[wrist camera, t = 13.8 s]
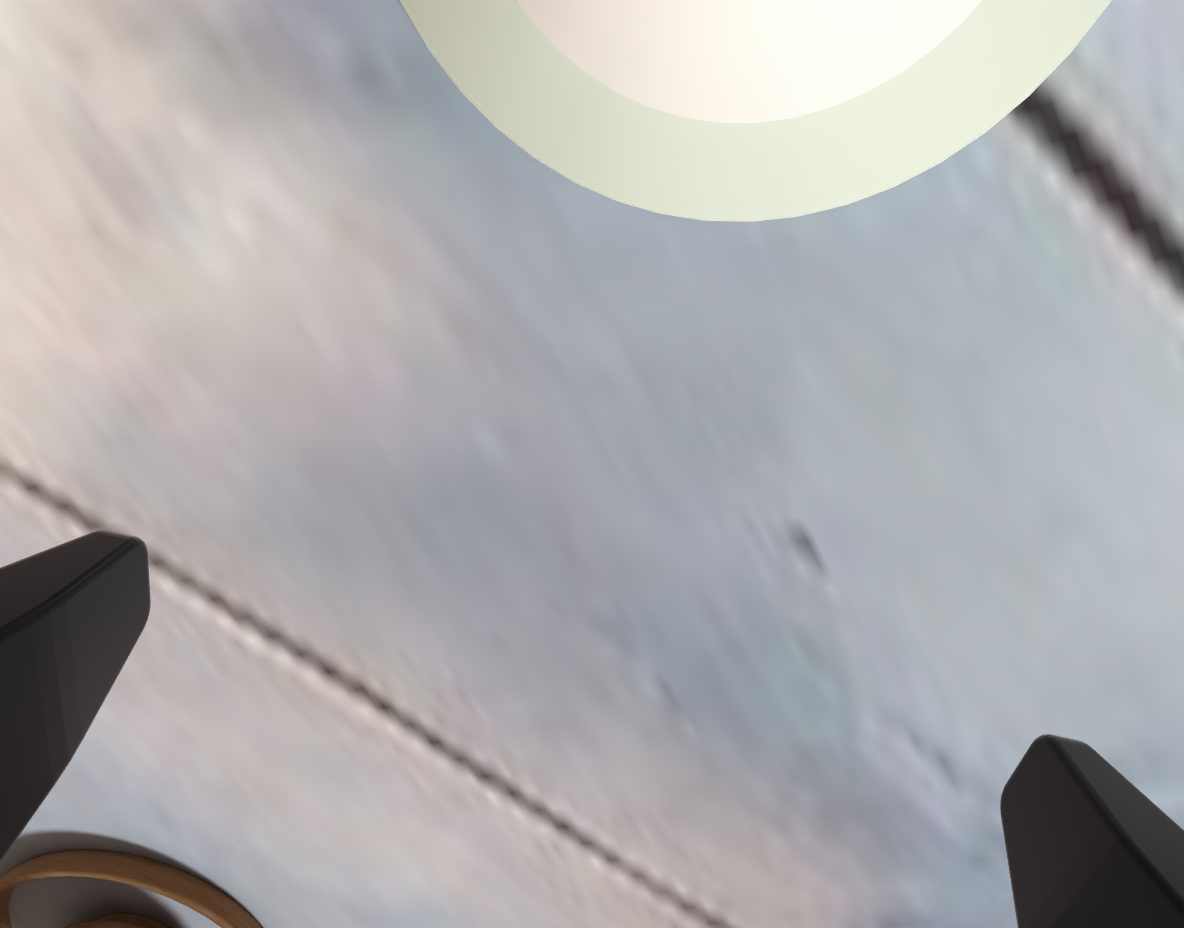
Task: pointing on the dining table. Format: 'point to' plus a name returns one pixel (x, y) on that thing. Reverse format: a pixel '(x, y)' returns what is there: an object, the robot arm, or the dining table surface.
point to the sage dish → (747, 90)
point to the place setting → (135, 872)
